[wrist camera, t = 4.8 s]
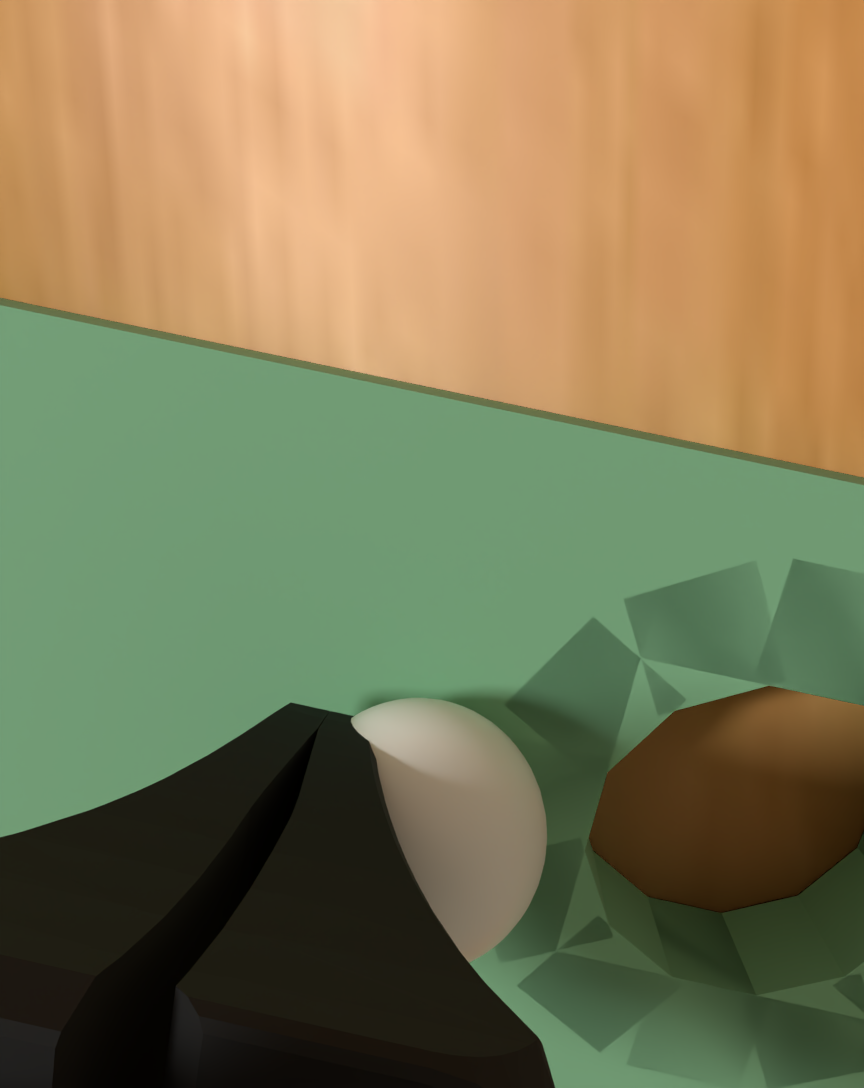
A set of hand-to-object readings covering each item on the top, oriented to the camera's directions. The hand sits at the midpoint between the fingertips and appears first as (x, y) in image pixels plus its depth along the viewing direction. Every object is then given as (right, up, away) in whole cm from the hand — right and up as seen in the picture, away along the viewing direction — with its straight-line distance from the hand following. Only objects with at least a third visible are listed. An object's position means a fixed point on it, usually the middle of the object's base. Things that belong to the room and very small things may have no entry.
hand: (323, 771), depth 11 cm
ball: (+2, -1, -2) cm, 3 cm away
